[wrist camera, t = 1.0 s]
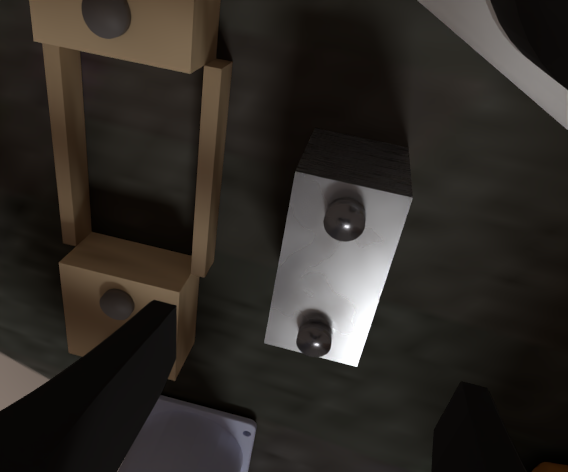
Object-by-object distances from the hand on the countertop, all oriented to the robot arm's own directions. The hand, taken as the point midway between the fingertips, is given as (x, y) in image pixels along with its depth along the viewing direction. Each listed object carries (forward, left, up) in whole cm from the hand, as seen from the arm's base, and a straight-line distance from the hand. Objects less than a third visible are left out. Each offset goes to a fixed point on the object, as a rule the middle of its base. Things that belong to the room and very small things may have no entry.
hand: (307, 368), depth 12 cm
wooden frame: (-1, +9, -11) cm, 14 cm away
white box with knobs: (-2, 0, -11) cm, 11 cm away
